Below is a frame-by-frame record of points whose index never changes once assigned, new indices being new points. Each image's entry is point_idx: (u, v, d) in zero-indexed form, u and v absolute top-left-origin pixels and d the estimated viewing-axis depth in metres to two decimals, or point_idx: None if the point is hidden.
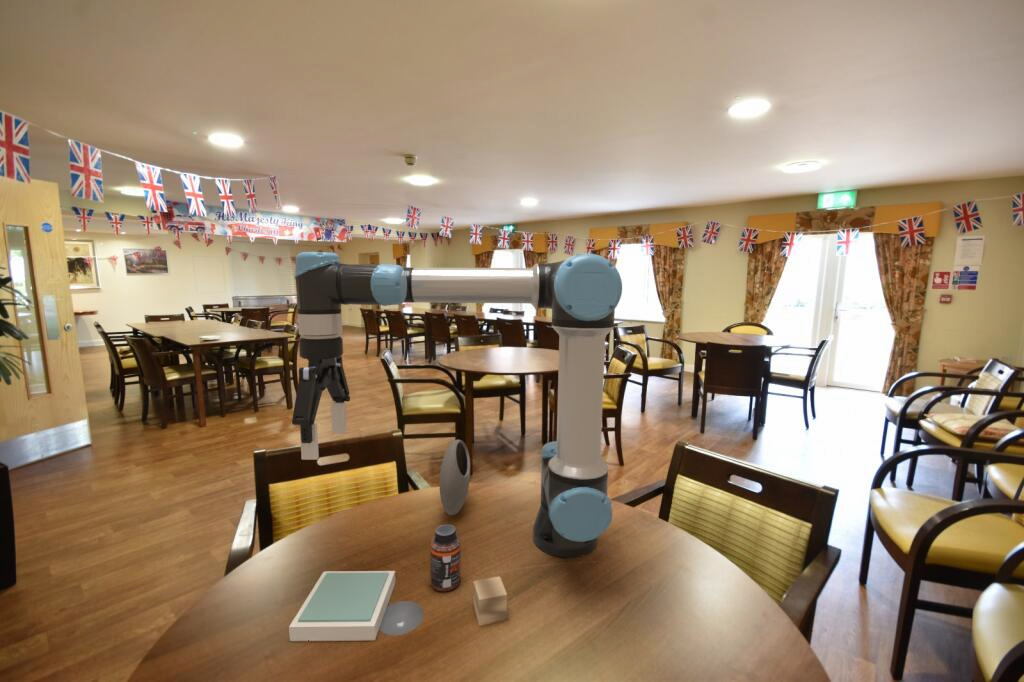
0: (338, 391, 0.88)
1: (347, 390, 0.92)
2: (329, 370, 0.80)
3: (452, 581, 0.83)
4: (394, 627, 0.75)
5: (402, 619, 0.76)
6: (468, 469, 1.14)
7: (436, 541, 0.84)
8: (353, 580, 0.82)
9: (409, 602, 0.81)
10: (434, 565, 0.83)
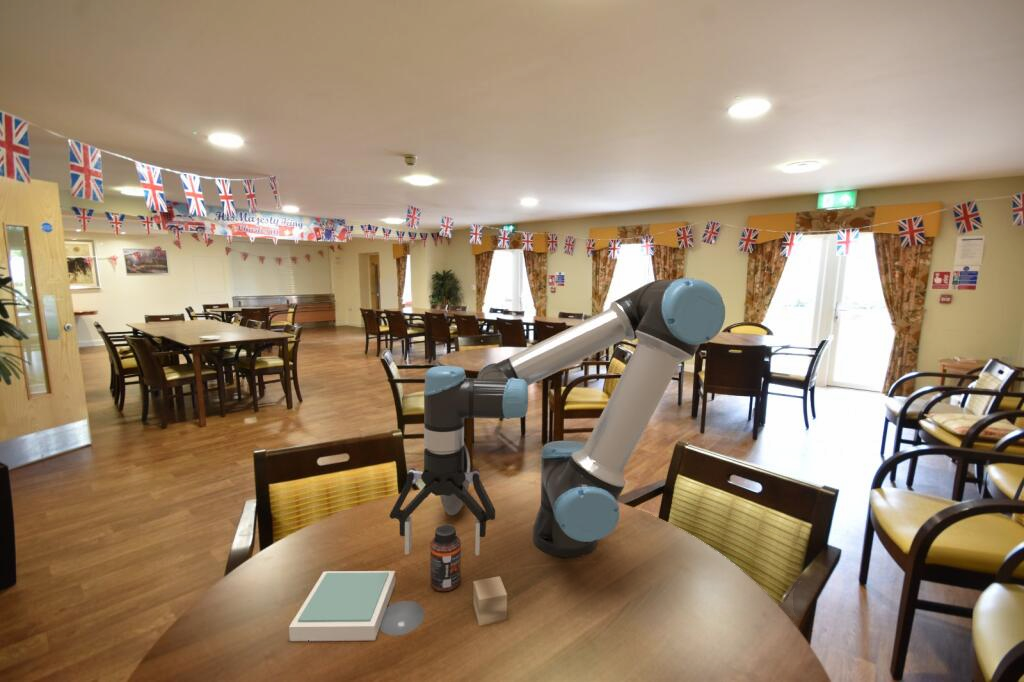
0: None
1: (489, 513, 0.83)
2: (434, 482, 0.81)
3: (452, 581, 0.83)
4: (395, 627, 0.75)
5: (403, 619, 0.76)
6: (468, 469, 1.14)
7: (436, 541, 0.84)
8: (353, 580, 0.82)
9: (410, 602, 0.81)
10: (434, 565, 0.83)
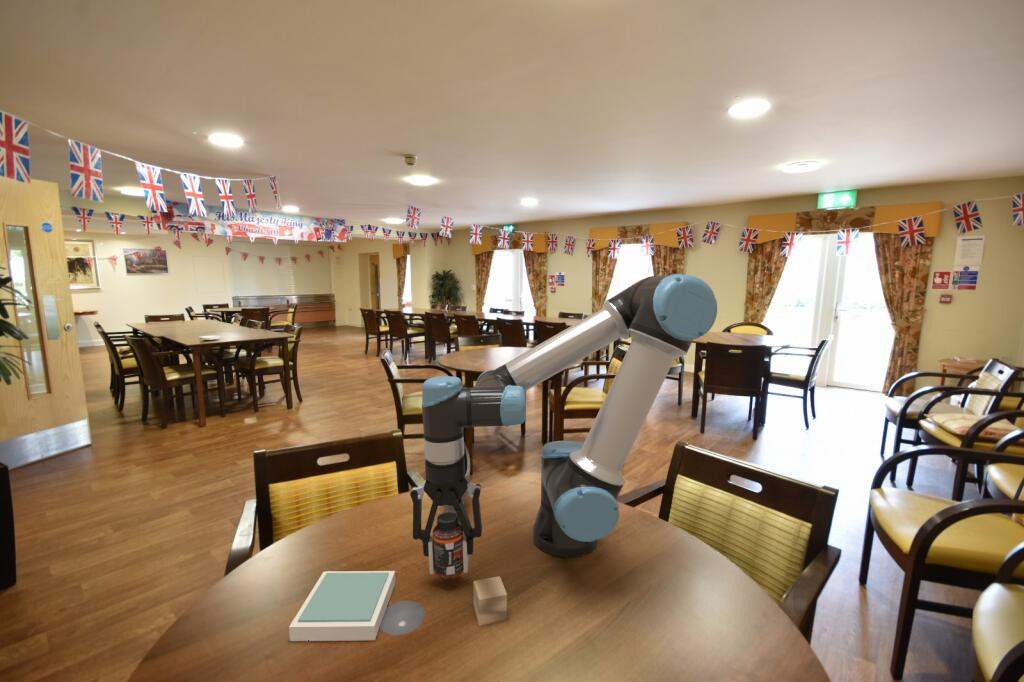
0: None
1: (477, 530, 0.84)
2: (436, 493, 0.82)
3: (455, 568, 0.83)
4: (395, 627, 0.75)
5: (404, 619, 0.76)
6: (468, 469, 1.14)
7: (438, 528, 0.83)
8: (353, 580, 0.82)
9: (410, 602, 0.81)
10: (437, 553, 0.83)
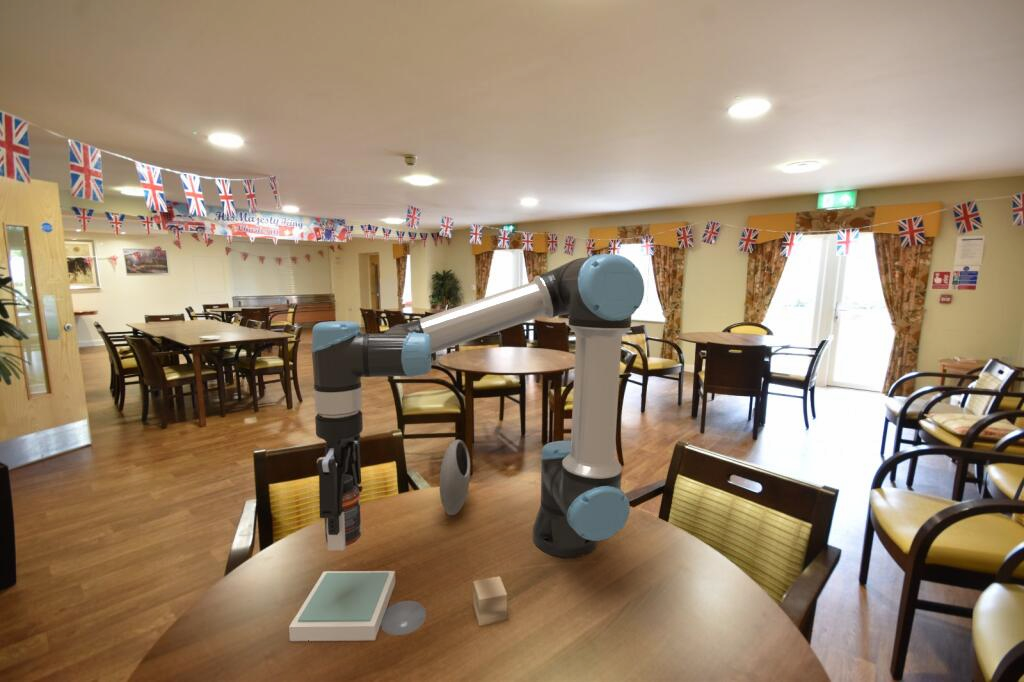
0: None
1: (359, 476, 0.82)
2: (348, 450, 0.73)
3: None
4: (397, 626, 0.75)
5: (405, 619, 0.76)
6: (468, 469, 1.14)
7: (345, 492, 0.74)
8: (353, 580, 0.82)
9: (412, 602, 0.81)
10: (352, 516, 0.75)
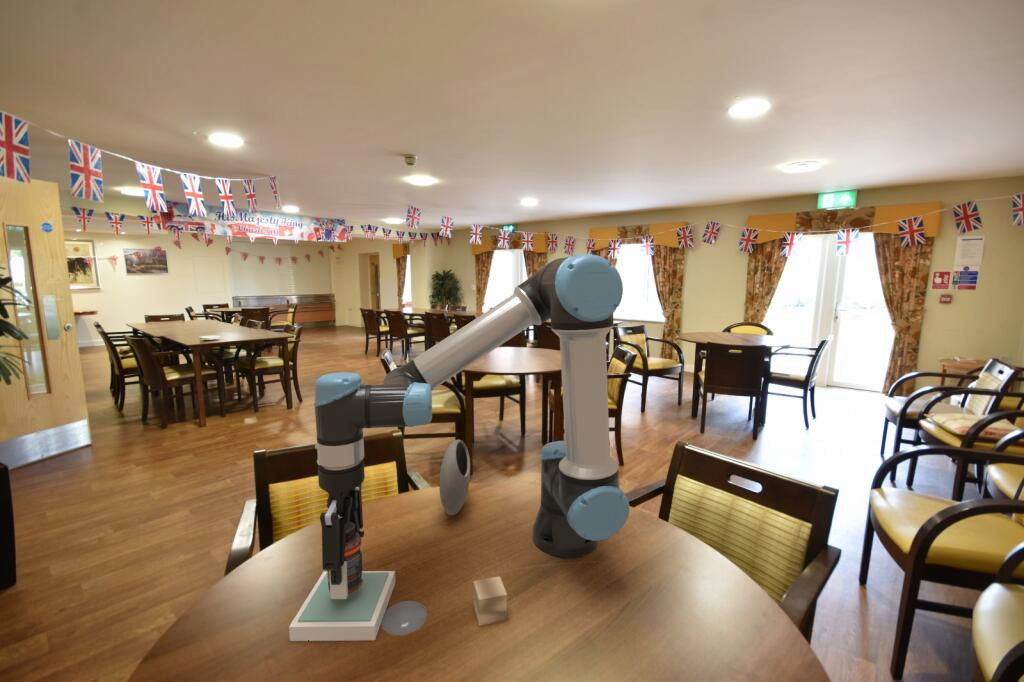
0: None
1: (361, 521, 0.83)
2: (350, 500, 0.74)
3: None
4: (398, 627, 0.75)
5: (406, 619, 0.76)
6: (468, 469, 1.14)
7: (347, 541, 0.75)
8: None
9: (412, 602, 0.81)
10: (354, 565, 0.76)
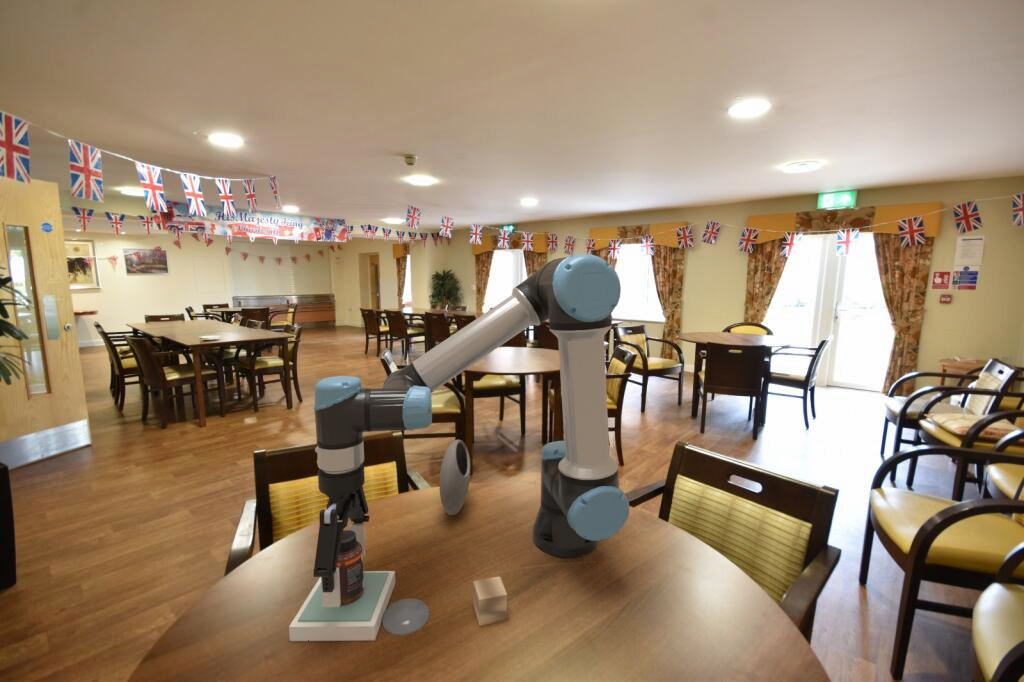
0: (358, 514, 0.82)
1: (366, 508, 0.86)
2: (350, 503, 0.75)
3: None
4: (400, 624, 0.75)
5: (408, 617, 0.76)
6: (468, 469, 1.14)
7: (348, 550, 0.76)
8: None
9: (414, 599, 0.81)
10: (355, 574, 0.76)
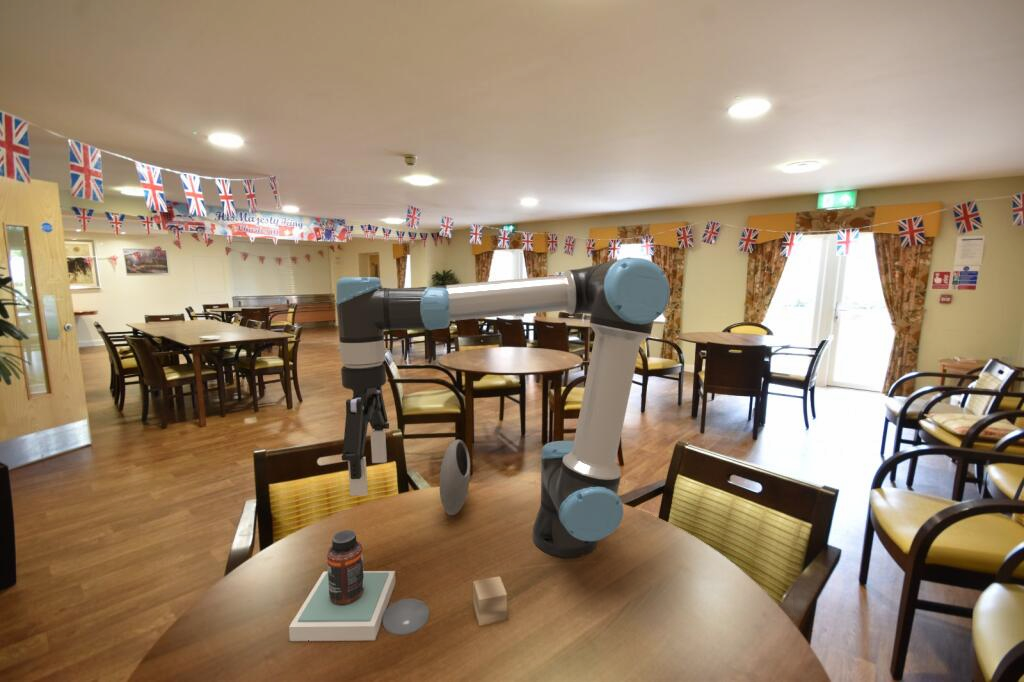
0: (379, 419, 0.84)
1: (385, 417, 0.88)
2: (374, 400, 0.77)
3: None
4: (401, 624, 0.75)
5: (408, 616, 0.76)
6: (468, 469, 1.14)
7: (348, 550, 0.76)
8: None
9: (412, 599, 0.81)
10: (355, 574, 0.76)
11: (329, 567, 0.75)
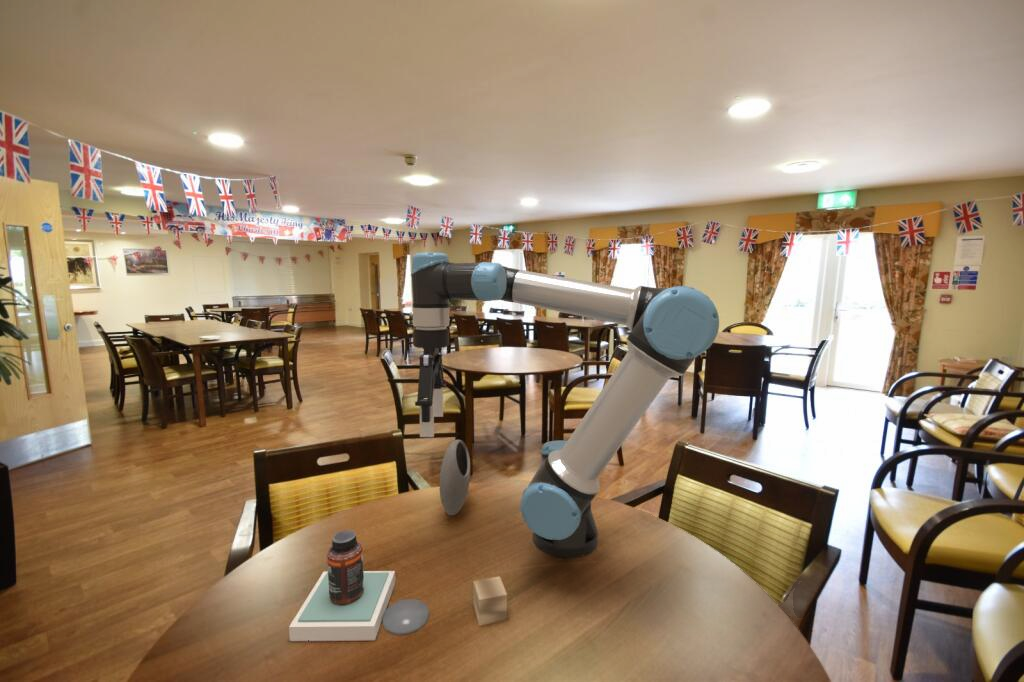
0: (439, 378, 0.97)
1: (443, 377, 1.01)
2: (439, 358, 0.90)
3: None
4: (403, 624, 0.75)
5: (408, 615, 0.77)
6: (468, 469, 1.14)
7: (348, 550, 0.76)
8: None
9: (410, 599, 0.81)
10: (355, 574, 0.76)
11: (329, 567, 0.75)
